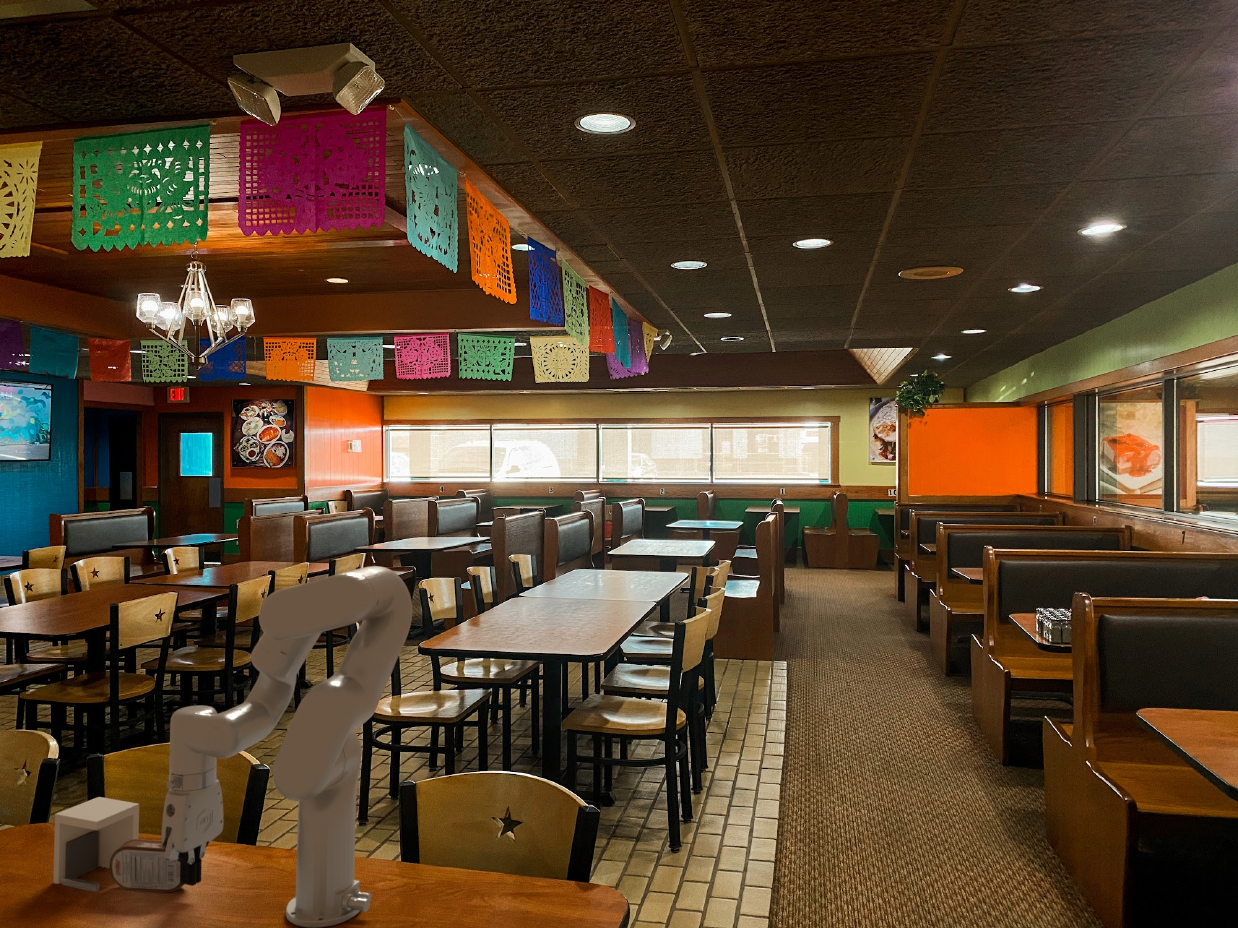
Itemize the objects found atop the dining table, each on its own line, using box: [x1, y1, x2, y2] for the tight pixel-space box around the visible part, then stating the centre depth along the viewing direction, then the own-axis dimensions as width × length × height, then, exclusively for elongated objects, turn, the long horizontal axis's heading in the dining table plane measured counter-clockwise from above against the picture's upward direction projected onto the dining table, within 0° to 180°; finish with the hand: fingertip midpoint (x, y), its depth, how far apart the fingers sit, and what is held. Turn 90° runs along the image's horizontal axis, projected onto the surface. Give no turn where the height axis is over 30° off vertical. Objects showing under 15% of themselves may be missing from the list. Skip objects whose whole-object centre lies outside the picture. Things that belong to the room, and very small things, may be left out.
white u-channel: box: [53, 796, 140, 893], centre depth 161 cm, size 10×9×12 cm
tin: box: [109, 838, 185, 893], centre depth 156 cm, size 15×3×8 cm, turn 85°
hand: (190, 882), depth 153 cm, fingers closed
